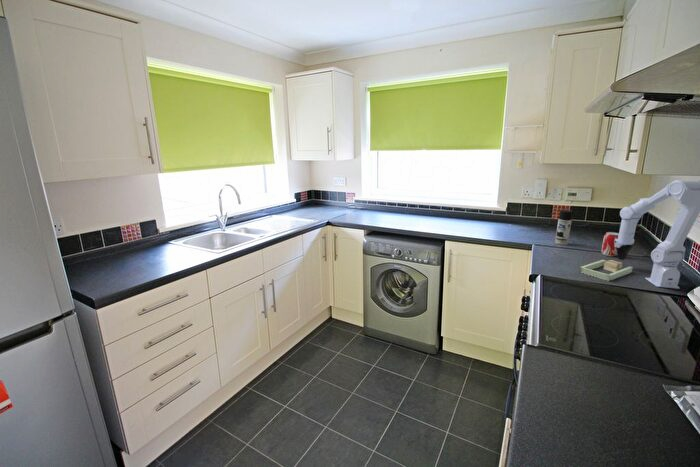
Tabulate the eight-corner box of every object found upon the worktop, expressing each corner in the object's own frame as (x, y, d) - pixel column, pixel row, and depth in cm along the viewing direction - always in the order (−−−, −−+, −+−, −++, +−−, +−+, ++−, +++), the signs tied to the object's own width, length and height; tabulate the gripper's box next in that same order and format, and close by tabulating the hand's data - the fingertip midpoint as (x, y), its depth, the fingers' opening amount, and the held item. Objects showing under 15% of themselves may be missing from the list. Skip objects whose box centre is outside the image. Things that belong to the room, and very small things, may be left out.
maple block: (608, 267, 166) (610, 259, 165) (620, 270, 162) (622, 262, 161) (603, 269, 164) (604, 261, 163) (615, 272, 160) (616, 264, 159)
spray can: (552, 243, 205) (557, 210, 200) (557, 241, 209) (562, 209, 204) (564, 246, 200) (570, 212, 195) (569, 243, 204) (575, 211, 199)
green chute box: (602, 264, 170) (603, 259, 169) (631, 272, 160) (632, 267, 159) (578, 272, 160) (579, 267, 159) (608, 281, 150) (609, 275, 149)
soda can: (609, 257, 180) (613, 235, 177) (597, 253, 187) (601, 232, 184) (620, 256, 181) (624, 234, 178) (608, 252, 188) (612, 231, 185)
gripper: (624, 228, 169) (618, 254, 172) (609, 232, 162) (604, 259, 165) (641, 231, 163) (635, 258, 166) (627, 235, 156) (620, 263, 160)
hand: (621, 259), depth 166 cm, fingers closed
